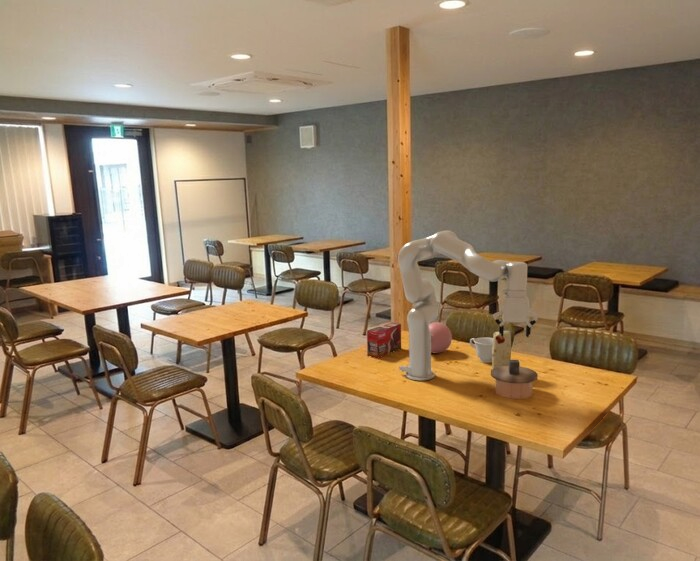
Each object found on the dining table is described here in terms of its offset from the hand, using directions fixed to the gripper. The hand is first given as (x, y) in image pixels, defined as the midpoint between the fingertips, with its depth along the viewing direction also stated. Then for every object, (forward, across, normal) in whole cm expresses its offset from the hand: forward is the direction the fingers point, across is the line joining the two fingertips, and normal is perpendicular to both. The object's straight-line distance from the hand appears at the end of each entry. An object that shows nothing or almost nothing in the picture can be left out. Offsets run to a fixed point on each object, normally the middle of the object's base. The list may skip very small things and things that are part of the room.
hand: (514, 335), depth 215 cm
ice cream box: (+24, -57, +48) cm, 78 cm away
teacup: (+24, -9, +40) cm, 47 cm away
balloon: (+24, -33, +49) cm, 63 cm away
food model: (+24, -3, +20) cm, 31 cm away
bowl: (+23, 0, 0) cm, 23 cm away
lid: (+16, 0, 0) cm, 16 cm away
